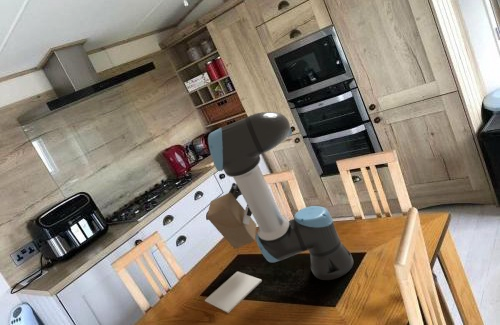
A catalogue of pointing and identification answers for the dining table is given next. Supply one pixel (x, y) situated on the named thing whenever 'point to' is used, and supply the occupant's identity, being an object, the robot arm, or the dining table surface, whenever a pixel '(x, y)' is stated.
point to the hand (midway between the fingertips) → (235, 222)
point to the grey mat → (233, 291)
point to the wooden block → (231, 221)
